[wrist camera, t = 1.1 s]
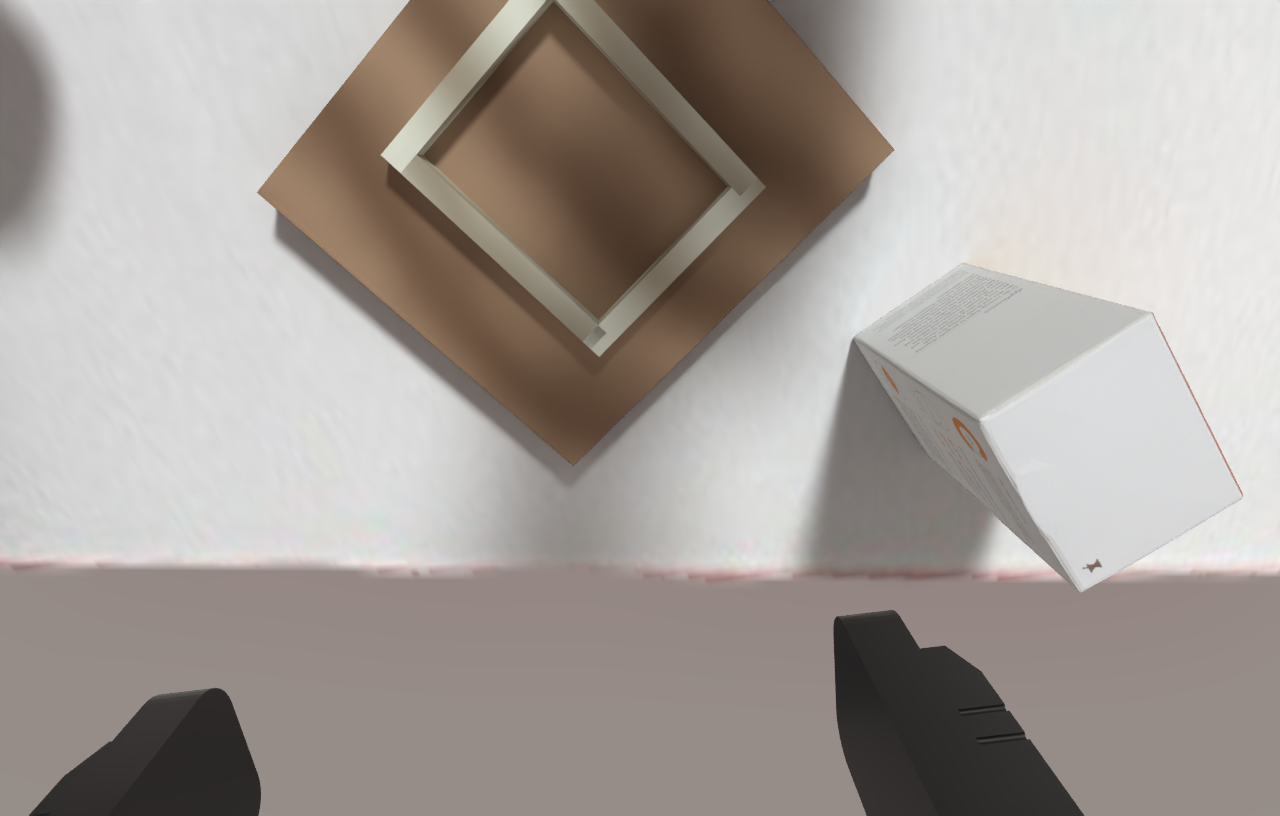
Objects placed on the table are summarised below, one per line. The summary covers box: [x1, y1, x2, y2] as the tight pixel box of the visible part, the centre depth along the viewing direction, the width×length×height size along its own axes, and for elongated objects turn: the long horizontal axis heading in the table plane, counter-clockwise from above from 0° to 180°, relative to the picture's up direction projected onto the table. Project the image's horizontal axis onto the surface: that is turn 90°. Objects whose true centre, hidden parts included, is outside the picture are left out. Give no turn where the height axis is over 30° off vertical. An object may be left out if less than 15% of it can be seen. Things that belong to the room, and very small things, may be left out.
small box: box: [854, 263, 1243, 592], centre depth 30 cm, size 8×6×13 cm
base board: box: [257, 0, 894, 466], centre depth 31 cm, size 20×18×3 cm
